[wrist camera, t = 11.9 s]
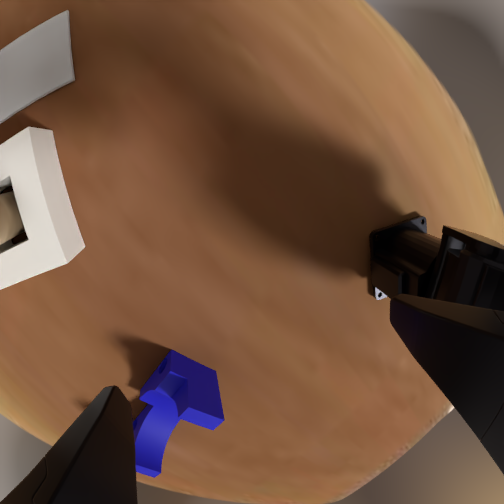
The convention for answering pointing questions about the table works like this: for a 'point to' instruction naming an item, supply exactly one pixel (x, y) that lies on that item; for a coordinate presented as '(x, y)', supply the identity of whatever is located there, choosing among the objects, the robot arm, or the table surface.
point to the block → (37, 207)
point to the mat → (35, 65)
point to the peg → (9, 217)
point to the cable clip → (174, 407)
